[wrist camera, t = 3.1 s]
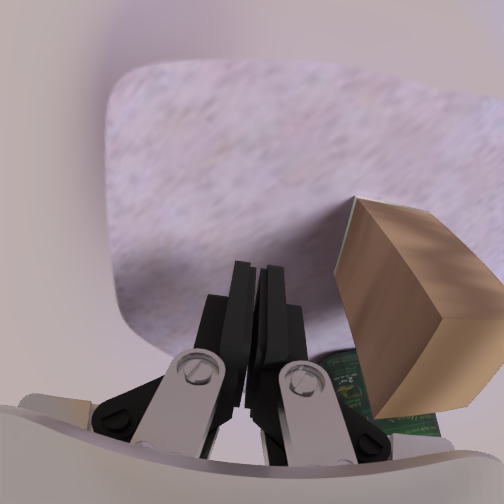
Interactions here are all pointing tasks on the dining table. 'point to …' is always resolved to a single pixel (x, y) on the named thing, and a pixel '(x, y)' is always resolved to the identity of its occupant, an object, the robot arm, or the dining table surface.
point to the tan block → (417, 310)
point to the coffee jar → (356, 397)
